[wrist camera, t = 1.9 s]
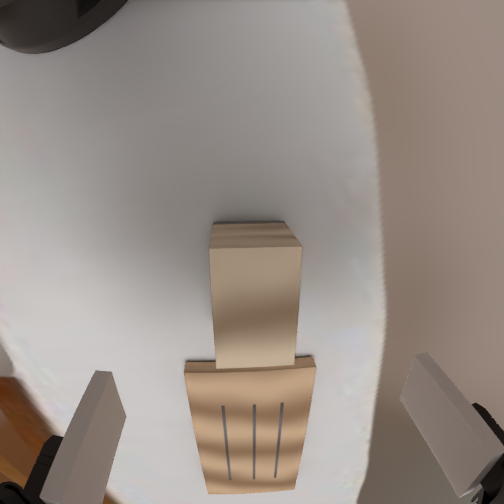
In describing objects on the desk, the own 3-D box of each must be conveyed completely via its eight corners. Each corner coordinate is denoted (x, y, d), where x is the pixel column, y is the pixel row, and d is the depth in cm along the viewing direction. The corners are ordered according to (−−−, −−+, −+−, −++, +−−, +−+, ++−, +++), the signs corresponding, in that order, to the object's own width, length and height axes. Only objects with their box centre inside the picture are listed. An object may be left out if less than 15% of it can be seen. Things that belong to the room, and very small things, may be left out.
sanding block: (213, 222, 23) (208, 248, 17) (283, 221, 23) (302, 246, 17) (217, 321, 25) (216, 368, 20) (280, 319, 26) (294, 364, 20)
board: (185, 361, 26) (183, 372, 25) (312, 356, 27) (316, 366, 25) (208, 485, 33) (208, 494, 32) (292, 480, 34) (294, 489, 32)
